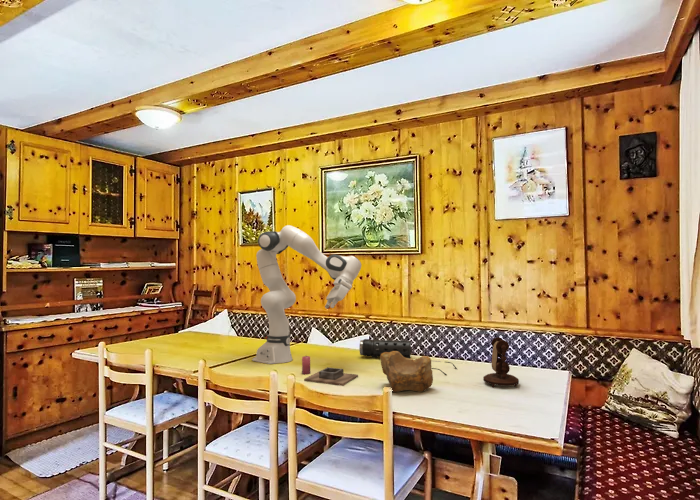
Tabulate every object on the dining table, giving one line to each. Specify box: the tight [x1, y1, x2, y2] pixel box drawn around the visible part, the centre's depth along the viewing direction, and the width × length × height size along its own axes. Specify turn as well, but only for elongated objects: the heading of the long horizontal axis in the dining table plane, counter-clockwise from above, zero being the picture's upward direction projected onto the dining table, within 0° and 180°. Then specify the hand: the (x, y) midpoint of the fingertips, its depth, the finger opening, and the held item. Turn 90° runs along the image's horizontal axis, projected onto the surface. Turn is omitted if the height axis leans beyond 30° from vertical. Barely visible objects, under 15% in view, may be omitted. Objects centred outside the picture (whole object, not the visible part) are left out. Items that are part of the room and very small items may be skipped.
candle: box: [301, 355, 311, 375], centre depth 216 cm, size 4×4×9 cm
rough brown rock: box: [379, 351, 434, 393], centre depth 187 cm, size 23×17×15 cm
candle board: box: [303, 367, 359, 387], centre depth 206 cm, size 20×16×4 cm
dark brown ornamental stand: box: [482, 336, 520, 388], centre depth 194 cm, size 15×15×20 cm
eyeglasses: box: [431, 360, 458, 376], centre depth 220 cm, size 16×19×5 cm
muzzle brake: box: [358, 338, 412, 359], centre depth 247 cm, size 10×28×10 cm, turn 78°
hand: (328, 307), depth 224 cm, fingers open, 8 cm apart
